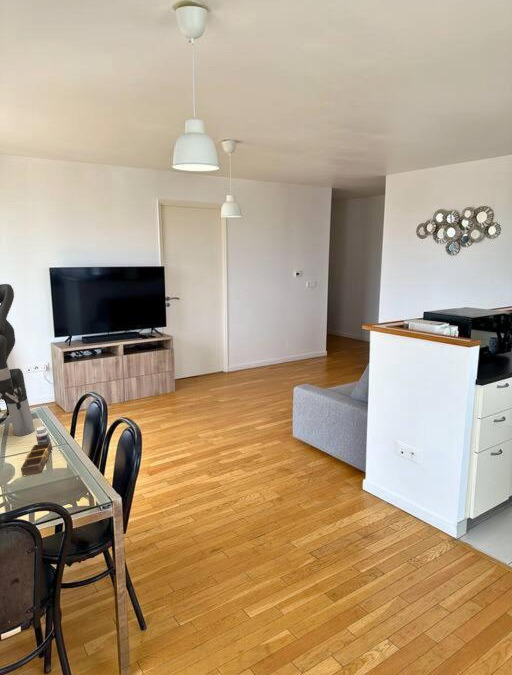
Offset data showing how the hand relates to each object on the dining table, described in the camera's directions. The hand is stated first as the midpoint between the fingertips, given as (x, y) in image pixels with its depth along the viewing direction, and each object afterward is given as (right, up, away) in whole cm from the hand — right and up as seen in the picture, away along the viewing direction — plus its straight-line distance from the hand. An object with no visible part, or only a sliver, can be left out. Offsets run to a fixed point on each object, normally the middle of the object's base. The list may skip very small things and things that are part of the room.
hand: (9, 410), depth 217 cm
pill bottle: (+16, -16, 0) cm, 23 cm away
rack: (+21, -20, -15) cm, 32 cm away
